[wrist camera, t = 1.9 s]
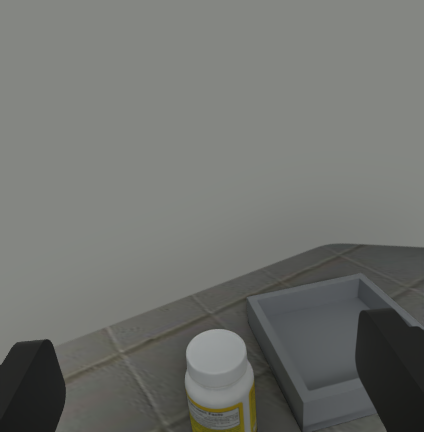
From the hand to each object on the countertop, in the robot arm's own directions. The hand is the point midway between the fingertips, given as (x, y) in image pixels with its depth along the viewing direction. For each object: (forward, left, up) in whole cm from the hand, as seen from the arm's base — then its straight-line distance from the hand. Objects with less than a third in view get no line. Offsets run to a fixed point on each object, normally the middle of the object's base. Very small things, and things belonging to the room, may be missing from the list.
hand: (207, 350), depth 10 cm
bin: (-14, -16, -19) cm, 28 cm away
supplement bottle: (-2, -11, -19) cm, 22 cm away
